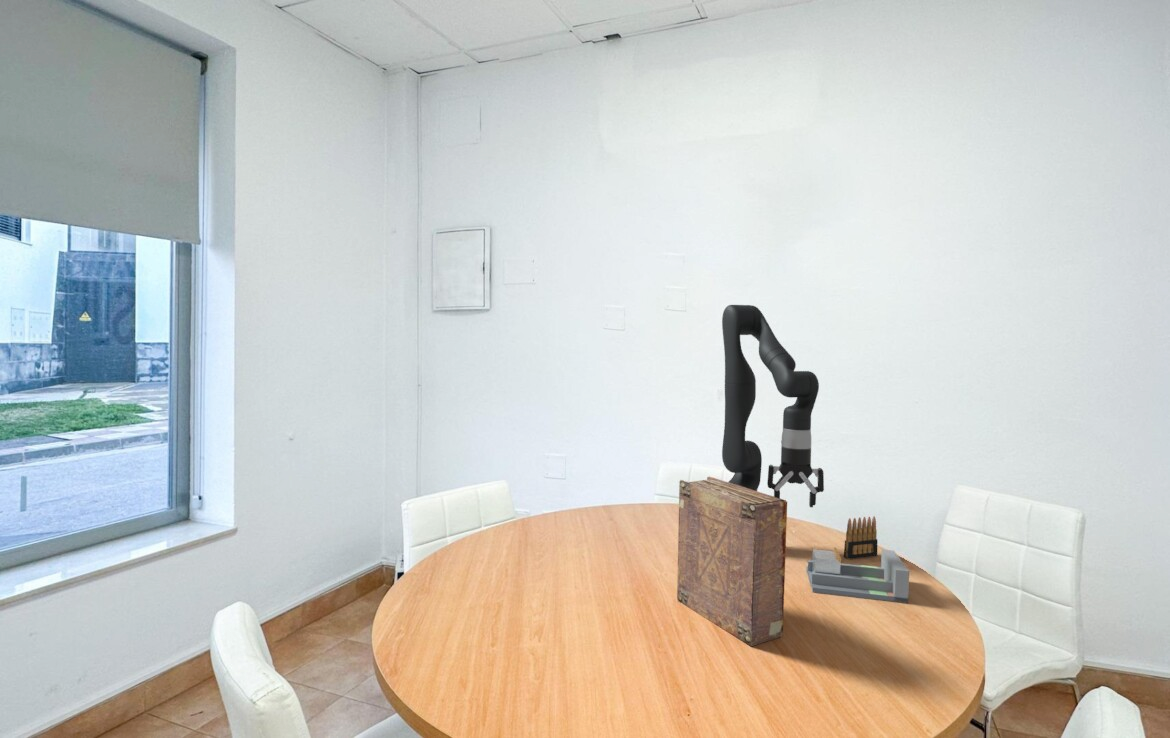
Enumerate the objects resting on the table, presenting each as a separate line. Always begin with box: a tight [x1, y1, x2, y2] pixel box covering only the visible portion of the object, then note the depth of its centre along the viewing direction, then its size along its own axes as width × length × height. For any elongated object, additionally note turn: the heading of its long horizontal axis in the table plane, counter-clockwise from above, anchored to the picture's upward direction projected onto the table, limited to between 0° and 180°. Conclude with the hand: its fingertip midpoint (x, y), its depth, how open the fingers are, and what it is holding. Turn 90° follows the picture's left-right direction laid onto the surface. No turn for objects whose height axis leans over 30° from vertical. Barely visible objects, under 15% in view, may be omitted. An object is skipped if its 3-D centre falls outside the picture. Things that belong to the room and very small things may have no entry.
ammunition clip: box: [843, 515, 878, 560], centre depth 175 cm, size 11×2×12 cm, turn 106°
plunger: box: [812, 547, 842, 575], centre depth 155 cm, size 6×8×7 cm
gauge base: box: [805, 548, 910, 604], centre depth 153 cm, size 22×15×8 cm
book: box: [676, 476, 788, 647], centre depth 134 cm, size 25×9×30 cm, turn 29°
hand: (794, 505), depth 156 cm, fingers open, 8 cm apart
